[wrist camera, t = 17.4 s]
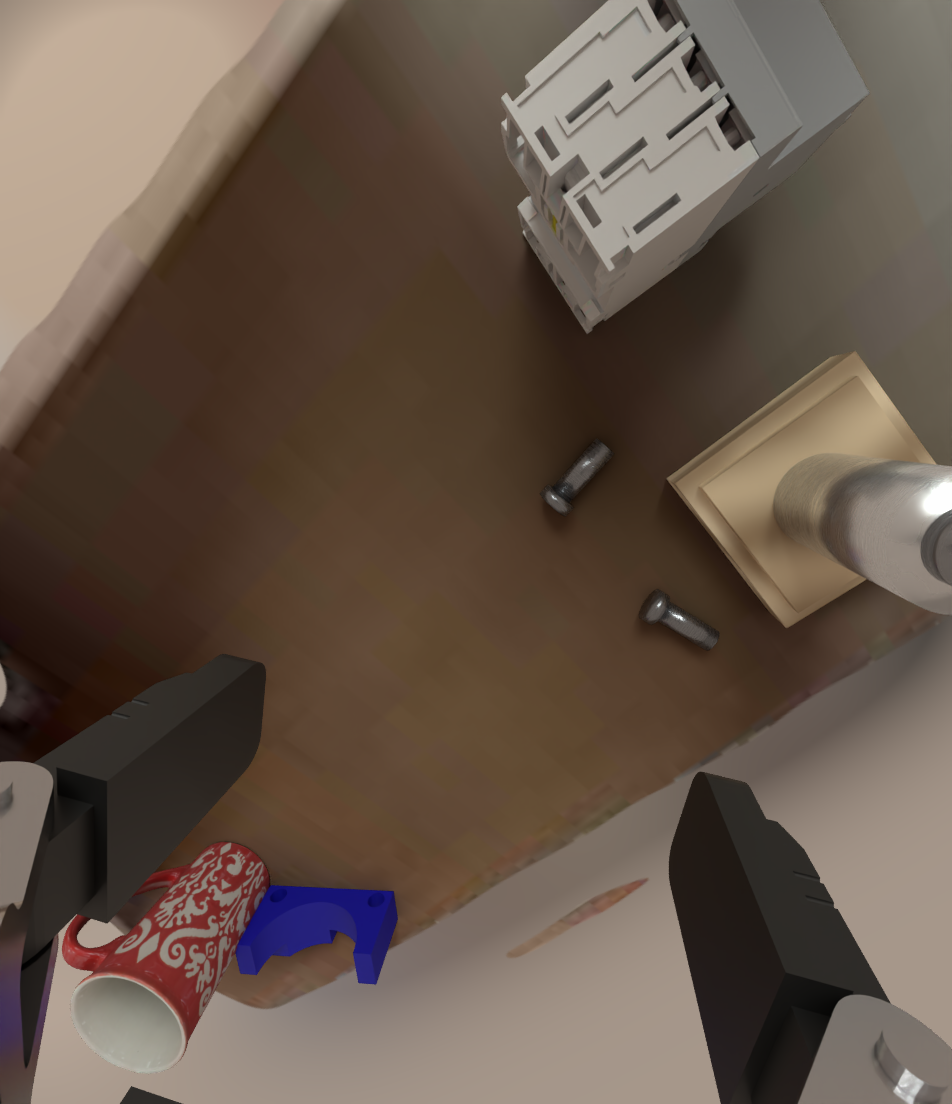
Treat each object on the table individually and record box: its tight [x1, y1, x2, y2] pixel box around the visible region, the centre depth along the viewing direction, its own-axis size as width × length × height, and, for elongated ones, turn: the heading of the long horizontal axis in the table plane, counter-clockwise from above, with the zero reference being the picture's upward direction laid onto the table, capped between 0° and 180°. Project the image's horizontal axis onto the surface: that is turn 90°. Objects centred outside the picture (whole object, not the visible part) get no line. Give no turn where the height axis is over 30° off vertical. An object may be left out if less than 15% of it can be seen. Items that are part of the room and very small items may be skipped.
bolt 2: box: [639, 589, 719, 650], centre depth 38 cm, size 5×2×2 cm, turn 60°
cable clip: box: [235, 885, 398, 984], centre depth 48 cm, size 12×4×6 cm, turn 96°
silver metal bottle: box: [773, 453, 952, 615], centre depth 26 cm, size 6×6×13 cm
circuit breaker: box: [501, 0, 869, 334], centre depth 26 cm, size 8×14×15 cm, turn 125°
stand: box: [666, 351, 936, 628], centre depth 34 cm, size 12×12×4 cm
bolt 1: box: [540, 438, 614, 517], centre depth 37 cm, size 5×2×2 cm, turn 140°
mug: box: [62, 842, 270, 1073], centre depth 45 cm, size 13×9×14 cm
